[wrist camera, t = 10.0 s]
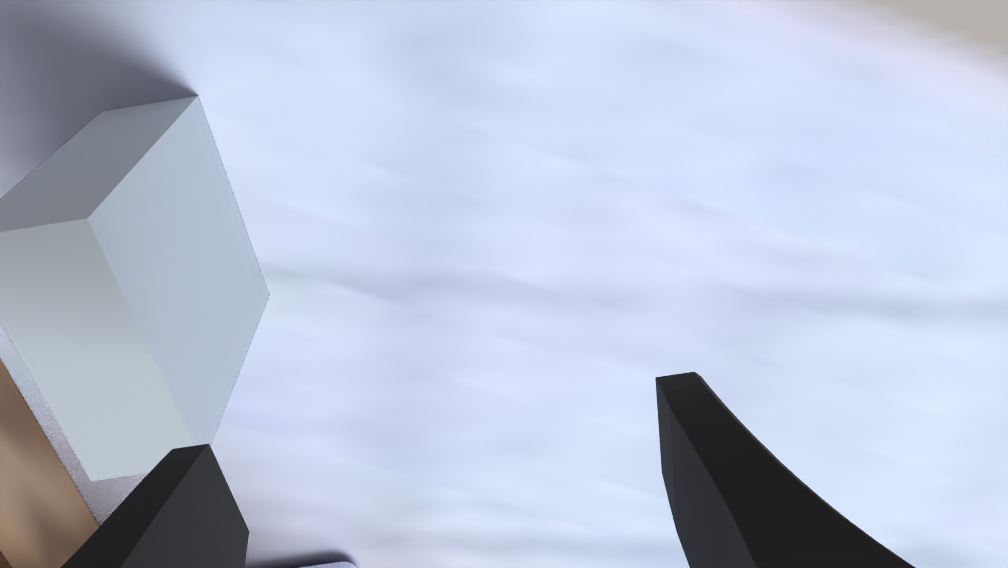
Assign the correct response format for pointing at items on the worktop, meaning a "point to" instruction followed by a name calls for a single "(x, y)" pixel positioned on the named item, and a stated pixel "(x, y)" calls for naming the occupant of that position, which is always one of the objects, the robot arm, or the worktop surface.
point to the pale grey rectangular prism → (131, 285)
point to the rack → (35, 491)
